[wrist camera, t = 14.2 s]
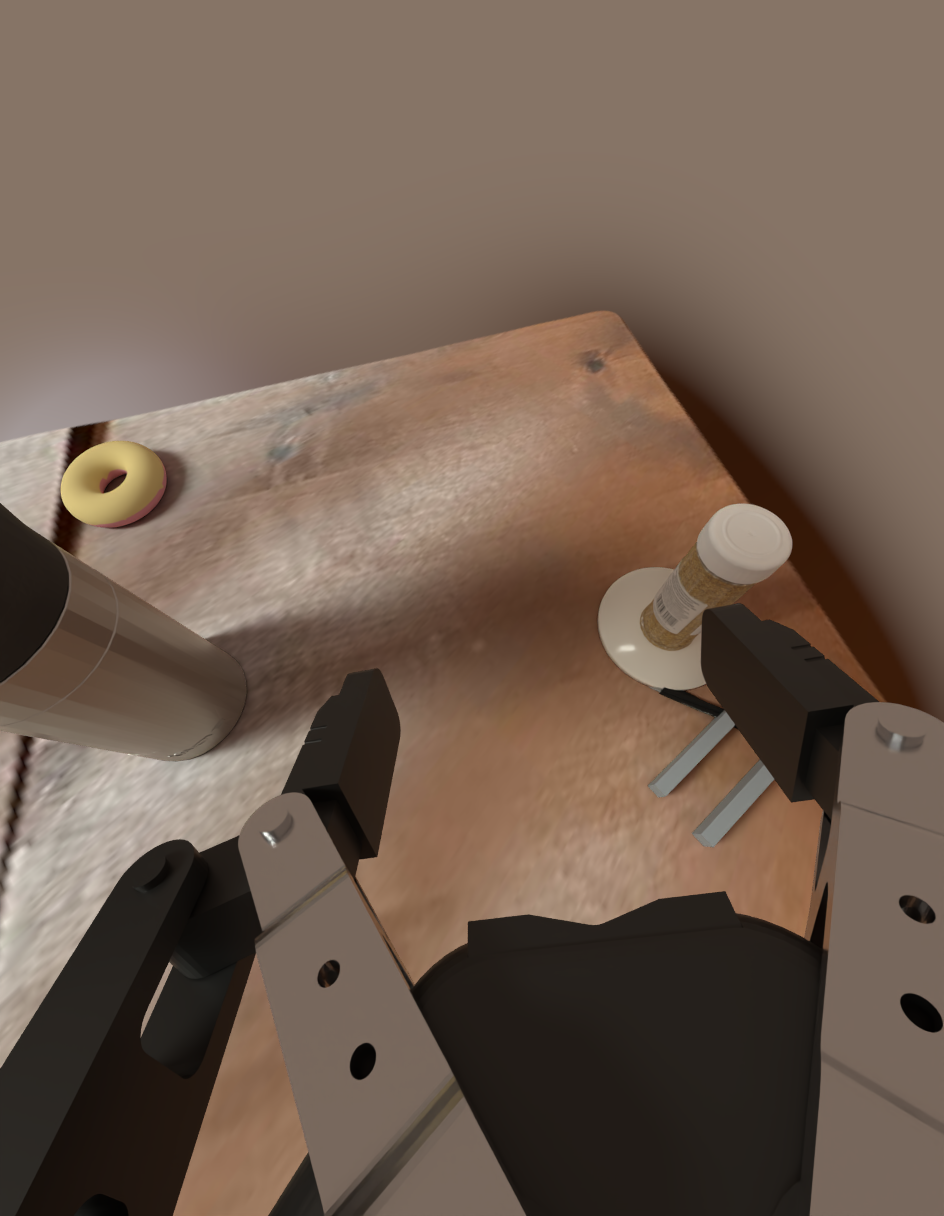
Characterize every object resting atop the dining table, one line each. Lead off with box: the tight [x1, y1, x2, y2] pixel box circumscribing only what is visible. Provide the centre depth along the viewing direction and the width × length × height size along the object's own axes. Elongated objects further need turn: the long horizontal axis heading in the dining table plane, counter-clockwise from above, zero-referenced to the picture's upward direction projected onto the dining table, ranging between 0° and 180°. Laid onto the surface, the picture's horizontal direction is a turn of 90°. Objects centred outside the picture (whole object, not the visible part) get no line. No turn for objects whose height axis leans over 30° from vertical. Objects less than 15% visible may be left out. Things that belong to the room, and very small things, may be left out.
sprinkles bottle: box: [640, 504, 792, 651], centre depth 31 cm, size 5×5×13 cm
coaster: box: [597, 567, 706, 691], centre depth 38 cm, size 11×11×1 cm
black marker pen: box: [650, 687, 738, 729], centre depth 34 cm, size 12×1×1 cm, turn 63°
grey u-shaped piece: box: [648, 710, 774, 847], centre depth 33 cm, size 5×15×2 cm, turn 129°
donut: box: [61, 441, 167, 527], centre depth 45 cm, size 10×5×9 cm
